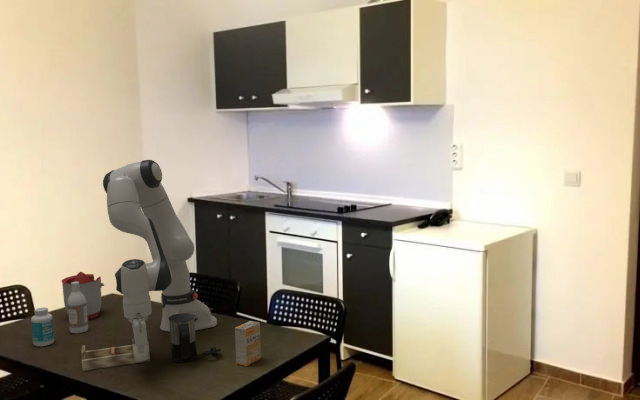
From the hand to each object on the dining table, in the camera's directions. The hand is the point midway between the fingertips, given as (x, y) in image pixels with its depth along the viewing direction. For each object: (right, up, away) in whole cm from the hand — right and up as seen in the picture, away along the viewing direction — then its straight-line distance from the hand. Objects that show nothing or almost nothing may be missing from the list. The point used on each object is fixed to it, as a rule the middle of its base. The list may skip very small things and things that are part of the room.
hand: (140, 349), depth 206 cm
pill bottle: (-45, -5, +29) cm, 54 cm away
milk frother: (+16, -6, +12) cm, 21 cm away
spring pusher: (-12, -5, +9) cm, 16 cm away
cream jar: (0, -3, 0) cm, 3 cm away
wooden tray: (-11, -6, +10) cm, 16 cm away
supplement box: (+35, -6, +6) cm, 36 cm away
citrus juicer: (-41, -1, +61) cm, 73 cm away
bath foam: (-37, -3, +42) cm, 56 cm away
